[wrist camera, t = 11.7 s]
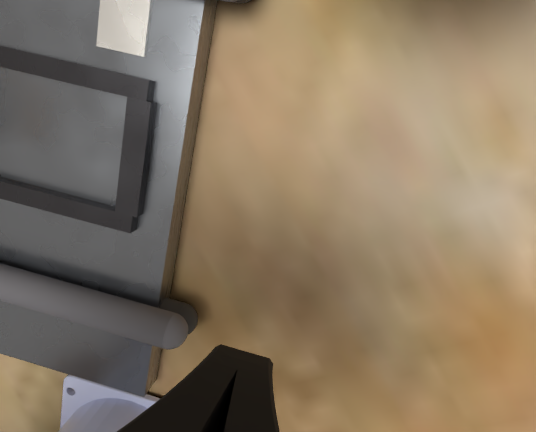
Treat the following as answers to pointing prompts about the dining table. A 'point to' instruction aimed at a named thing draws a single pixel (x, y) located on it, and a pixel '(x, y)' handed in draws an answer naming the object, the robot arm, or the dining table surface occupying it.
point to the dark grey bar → (99, 308)
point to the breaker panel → (96, 165)
